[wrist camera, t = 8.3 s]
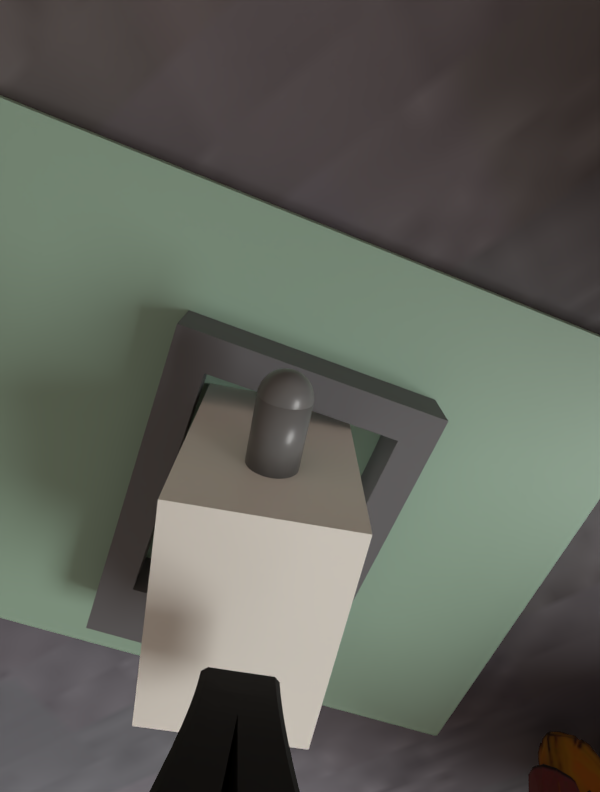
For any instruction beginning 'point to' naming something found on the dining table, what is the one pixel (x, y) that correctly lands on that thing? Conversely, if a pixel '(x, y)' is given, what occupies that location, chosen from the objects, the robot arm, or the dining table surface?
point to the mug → (565, 765)
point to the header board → (245, 369)
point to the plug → (253, 553)
